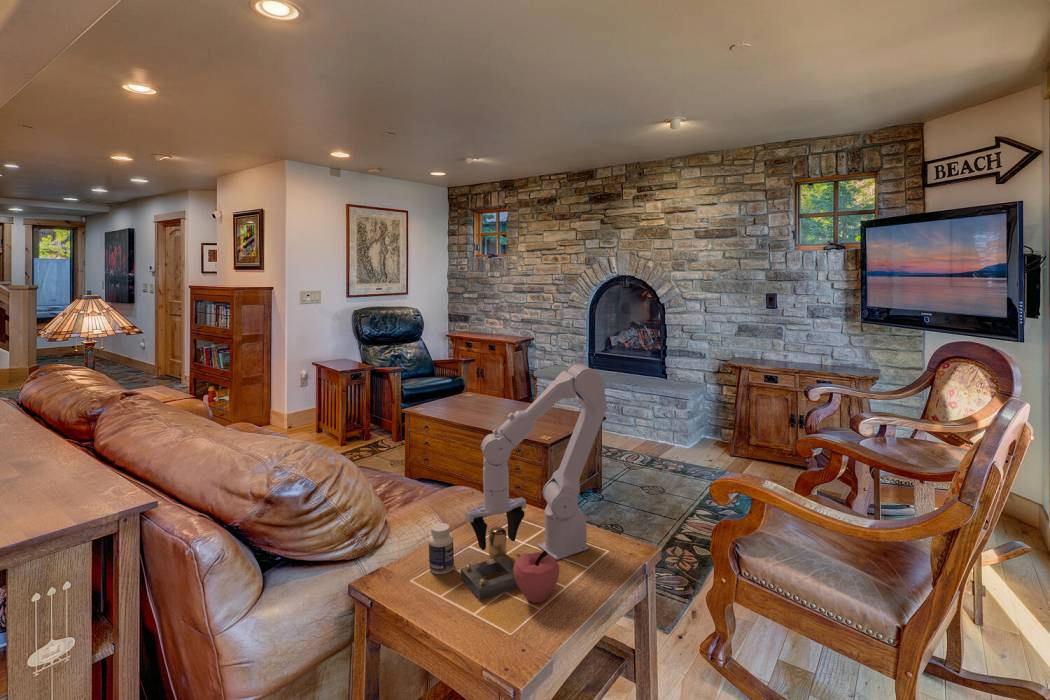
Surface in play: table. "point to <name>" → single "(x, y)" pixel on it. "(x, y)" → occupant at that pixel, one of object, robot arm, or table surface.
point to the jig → (477, 572)
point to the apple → (536, 575)
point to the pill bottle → (441, 549)
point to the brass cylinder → (497, 542)
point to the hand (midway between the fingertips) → (497, 543)
